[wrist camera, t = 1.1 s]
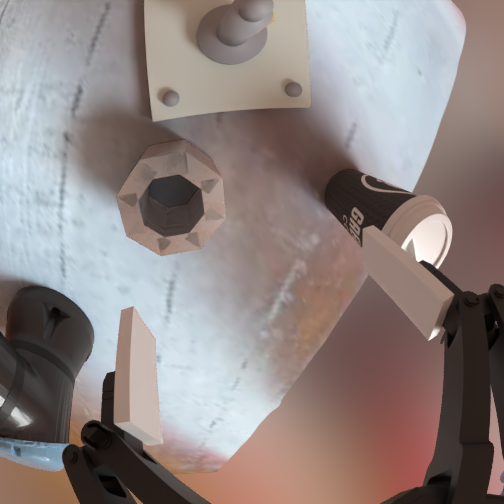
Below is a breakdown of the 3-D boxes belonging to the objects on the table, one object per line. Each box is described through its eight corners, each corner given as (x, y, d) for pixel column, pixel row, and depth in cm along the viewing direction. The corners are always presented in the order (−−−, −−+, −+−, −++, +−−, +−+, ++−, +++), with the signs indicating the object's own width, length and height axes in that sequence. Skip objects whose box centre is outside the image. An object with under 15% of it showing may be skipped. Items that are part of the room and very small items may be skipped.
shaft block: (154, 121, 24) (136, 135, 15) (145, -15, 16) (130, -69, 6) (304, 107, 27) (370, 119, 17) (297, -18, 19) (355, -57, 9)
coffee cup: (311, 163, 31) (393, 217, 19) (375, 153, 32) (464, 196, 20) (315, 233, 36) (379, 308, 24) (374, 217, 37) (445, 277, 25)
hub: (141, 227, 30) (134, 261, 24) (125, 151, 25) (109, 167, 19) (218, 213, 32) (228, 244, 26) (210, 135, 27) (219, 146, 21)
